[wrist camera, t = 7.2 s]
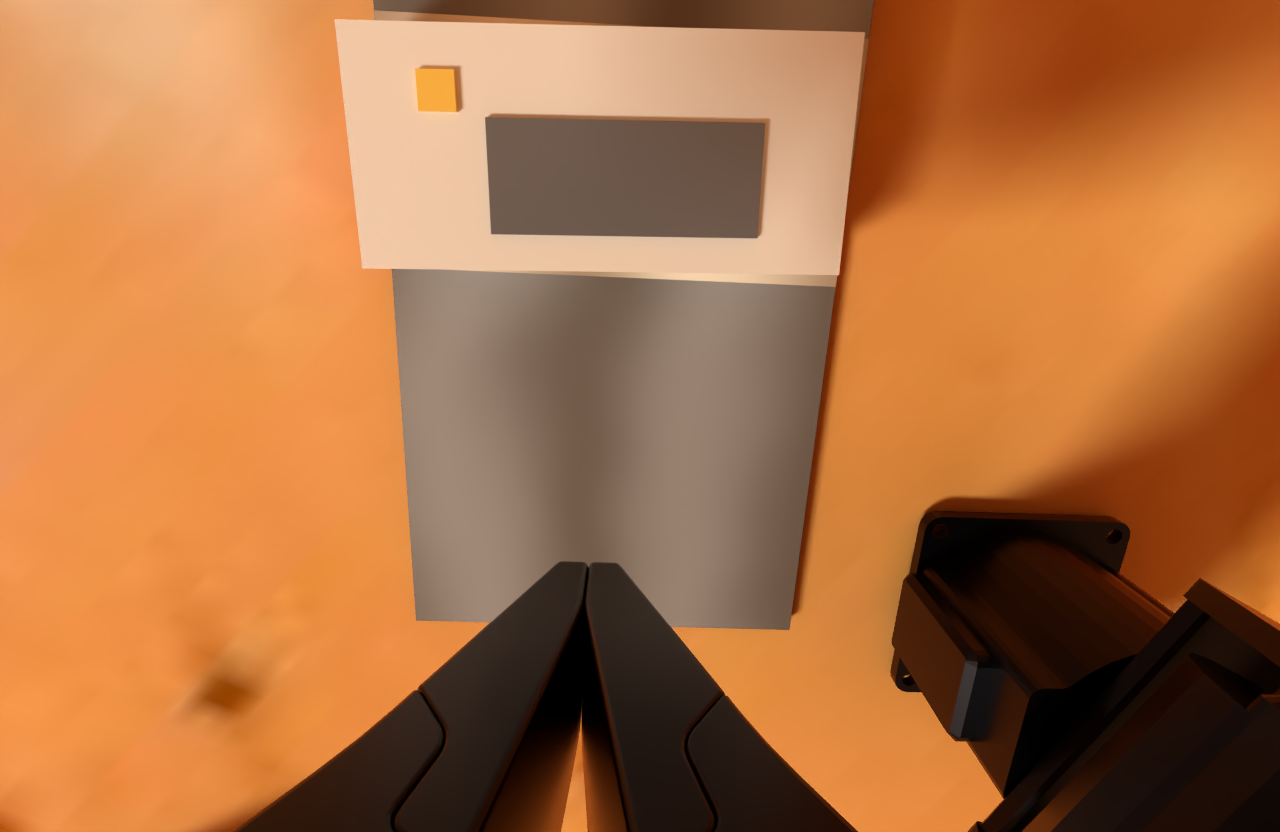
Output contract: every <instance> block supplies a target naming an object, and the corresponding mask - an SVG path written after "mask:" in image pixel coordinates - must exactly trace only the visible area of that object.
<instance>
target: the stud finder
mask: <svg viewBox="0 0 1280 832" xmlns="http://www.w3.org/2000/svg"><path fill="white" fill-rule="evenodd" d="M335 27H336V36H337V45H338V54H339V63H340V72H341V81H342V90H343V99H344V108H345V117H346V126H347V135H348V144H349V153H350V162H351V171H352V180H353V189H354V198H355V207H356V215H357V224H358V233H359V242H360V251H361V260H362V268H370V269H441V270H511V271H581V272H652V273H722V274H792V275H839V271H840V261H841V252H842V243H843V233H844V224H845V215H846V205H847V196H848V187H849V177H850V168H851V158H852V149H853V140H854V130H855V121H856V112H857V102H858V93H859V84H860V74H861V65H862V56H863V46H864V37H865V32H838V31H797V30H756V29H714V28H673V27H632V26H591V25H549V24H508V23H467V22H425V21H384V20H343V19H335Z"/></svg>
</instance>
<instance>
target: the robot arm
mask: <svg viewBox="0 0 1280 832" xmlns="http://www.w3.org/2000/svg"><path fill="white" fill-rule="evenodd" d="M939 524H943V526H942V528H941V530H939V531H938V532H935V533H932V531H933V529H934V527H935V526H937V525H939ZM1112 530H1113V532H1112V533H1111V535H1110V536H1108V537H1106V536H1107V534H1108V533H1109V532H1110V531H1112ZM1129 538H1130V530H1129V528H1128V526H1126V525H1125V524H1124V523H1122V522H1121V521H1119V520H1117V519H1116V518H1113V517H1109V516H1078V515H1047V514H1015V513H984V512H953V511H934V512H930V513H928V514H926V515H925V516H924V517H923V518H922V519H921V521H920V524H919V527H918V533H917V538H916V543H915V548H914V553H913V558H912V563H911V569H910V574H908V575H907V576H906V578H905V579H904V581H903V585H902V590H901V596H900V601H899V606H898V611H897V616H896V622H895V627H894V632H893V637H892V645H893V647H894V648H895V651H894V656H893V661H892V666H891V677H892V679H893V681H894V682H895V684H896V686H897V687H898V688H899V689H900V690H902V691H906V692H922V693H923V695H924V697H925V698H926V700H927V701H928V703H929V705H930V706H931V708H932V709H933V711H934V713H935V714H936V716H937V718H938V719H939V721H940V722H941V724H942V726H943V727H944V729H945V730H946V732H947V733H948V734H949V735H950V736H951V737H952V738H953V739H954V740H955V741H966V742H967V743H968V745H969V746H970V748H971V749H972V751H973V752H974V754H975V755H976V757H977V758H978V760H979V762H980V763H981V765H982V766H983V768H984V769H985V771H986V772H987V774H988V775H989V777H990V779H991V780H992V782H993V783H994V785H995V786H996V788H997V789H998V791H999V792H1000V794H1001V795H1002V797H1003V798H1004V800H1003V801H1002V802H1001V803H1000V804H999V805H998V806H997V807H996V808H995V809H994V810H993V812H992V813H991V814H990V815H989V816H988V817H987V818H986V819H985V820H984V821H983V822H979V821H977V822H976V823H975V824H974V825H973V826H972V827H971V828H970V830H969V831H968V832H1280V624H1279V623H1277V622H1276V621H1274V620H1272V619H1270V618H1269V617H1267V616H1265V615H1263V614H1262V613H1260V612H1258V611H1256V610H1255V609H1253V608H1251V607H1249V606H1248V605H1246V604H1244V603H1242V602H1241V601H1239V600H1237V599H1235V598H1234V597H1232V596H1230V595H1229V594H1227V593H1225V592H1223V591H1222V590H1220V589H1218V588H1216V587H1215V586H1213V585H1211V584H1209V583H1208V582H1206V581H1204V580H1202V579H1201V578H1199V580H1198V581H1197V582H1196V583H1195V584H1194V585H1193V586H1192V587H1191V588H1190V589H1189V591H1188V592H1187V593H1186V594H1185V595H1184V597H1185V598H1187V599H1188V600H1187V601H1186V602H1185V603H1184V604H1183V605H1182V606H1181V607H1180V608H1179V609H1178V610H1177V611H1176V613H1173V612H1172V611H1171V610H1169V609H1168V608H1166V607H1165V606H1164V605H1162V604H1161V603H1160V602H1158V601H1157V600H1155V599H1154V598H1153V597H1151V596H1150V595H1148V594H1147V593H1146V592H1144V591H1143V590H1142V589H1140V588H1139V587H1137V586H1136V585H1135V584H1133V583H1132V582H1131V581H1129V580H1128V579H1126V578H1125V577H1124V576H1122V575H1121V574H1119V571H1120V568H1121V564H1122V561H1123V558H1124V554H1125V551H1126V548H1127V545H1128V541H1129ZM909 673H910V674H911V675H910V676H908V677H905V678H903V677H904V676H905V675H906V674H909ZM581 714H582V752H583V767H584V782H585V797H586V812H587V827H588V832H858V831H857V830H856V829H855V828H854V827H853V826H852V825H851V824H849V823H848V822H847V821H846V820H845V819H844V818H843V817H842V816H841V815H840V814H839V813H838V812H837V811H836V810H835V809H834V808H833V807H832V806H831V805H830V804H829V803H828V802H827V801H826V800H824V799H823V798H822V797H821V796H820V795H819V794H818V793H817V792H816V791H815V790H814V789H813V788H812V787H811V786H810V785H809V784H808V783H807V782H806V781H805V780H804V779H803V778H802V777H801V776H800V775H799V774H798V773H797V772H796V771H795V770H794V769H793V768H792V767H791V766H790V765H789V764H788V763H787V762H786V761H785V760H784V759H783V758H782V757H781V756H780V755H779V754H778V753H777V752H776V751H775V750H774V749H773V748H772V747H771V746H770V745H769V744H768V743H767V742H766V741H765V740H764V738H763V737H762V736H761V735H760V734H759V733H758V732H757V730H756V729H755V728H754V727H753V726H752V725H751V724H750V722H749V721H748V720H747V719H746V718H745V717H744V716H743V714H742V713H741V712H740V711H739V710H738V708H737V707H736V706H735V705H734V703H733V702H732V701H731V700H730V698H729V697H728V696H725V693H724V692H723V690H722V689H721V688H720V687H719V685H718V684H717V683H716V682H715V681H714V679H713V678H712V677H711V676H710V674H709V673H708V672H707V671H706V670H705V668H704V667H703V666H702V665H701V663H700V662H699V661H698V660H697V659H696V657H695V656H694V655H693V654H692V652H691V651H690V650H689V649H688V648H687V646H686V645H685V644H684V643H683V641H682V640H681V639H680V638H679V637H678V635H677V634H676V633H675V632H674V630H673V629H672V628H671V627H670V625H669V624H668V623H667V622H666V621H665V619H664V618H663V617H662V616H661V614H660V613H659V612H658V611H657V610H656V608H655V607H654V606H653V605H652V603H651V602H650V601H649V600H648V599H647V597H646V596H645V595H644V594H643V592H642V591H641V590H640V589H639V588H638V586H637V585H636V584H635V583H634V581H633V580H632V579H631V578H630V577H629V575H628V574H627V573H626V572H625V570H624V569H623V568H622V567H621V566H620V565H619V564H618V563H610V562H593V563H591V564H590V565H589V569H588V565H587V564H586V563H585V562H570V561H561V562H558V563H557V564H556V565H554V566H553V567H552V568H551V569H550V570H549V571H548V572H547V573H545V574H544V575H543V576H542V577H541V578H540V579H539V580H538V581H537V582H535V583H534V584H533V585H532V586H531V587H530V588H529V589H528V590H526V591H525V592H524V593H523V594H522V595H521V596H520V597H519V598H517V599H516V600H515V601H514V602H513V603H512V604H511V605H510V606H508V607H507V608H506V609H505V610H504V611H503V612H502V613H501V614H500V615H498V616H497V617H496V618H495V619H494V620H493V621H492V622H491V623H489V624H488V625H487V626H486V627H485V628H484V629H483V630H482V631H480V632H479V633H478V634H477V635H476V636H475V637H474V638H473V639H472V640H470V641H469V642H468V643H467V644H466V645H465V646H464V647H463V648H461V649H460V650H459V651H458V652H457V653H456V654H455V655H454V656H452V657H451V658H450V659H449V660H448V661H447V662H446V663H445V664H443V665H442V666H441V667H440V668H439V669H438V670H437V671H436V672H435V673H433V674H432V675H431V676H430V677H429V678H428V679H427V680H426V681H424V682H423V683H422V684H421V685H420V686H419V687H418V690H415V691H413V692H412V693H411V694H410V695H408V696H407V697H406V698H405V699H404V700H403V701H402V702H401V703H399V704H398V705H397V706H396V707H395V708H394V709H393V710H391V711H390V712H389V713H388V714H387V715H386V716H384V717H383V718H382V719H381V720H380V721H378V722H377V723H376V724H375V725H374V726H372V727H371V728H370V729H369V730H368V731H367V732H365V733H364V734H363V735H362V736H361V737H359V738H358V739H357V740H356V741H354V742H353V743H352V744H350V745H349V746H348V747H346V748H345V749H344V750H343V751H341V752H340V753H339V754H337V755H336V756H335V757H333V758H332V759H331V760H329V761H328V762H327V763H326V764H324V765H323V766H322V767H320V768H319V769H318V770H316V771H315V772H314V773H312V774H311V775H310V776H308V777H307V778H306V779H304V780H303V781H301V782H300V783H299V784H297V785H296V786H295V787H293V788H292V789H291V790H289V791H288V792H286V793H285V794H284V795H282V796H281V797H280V798H278V799H277V800H275V801H274V802H273V803H271V804H270V805H269V806H267V807H266V808H265V809H263V810H262V811H260V812H259V813H258V814H256V815H255V816H254V817H252V818H251V819H250V820H248V821H247V822H245V823H244V824H243V825H241V826H240V827H239V828H237V829H236V830H234V831H233V832H561V828H562V823H563V818H564V813H565V807H566V802H567V797H568V792H569V787H570V782H571V776H572V771H573V766H574V761H575V756H576V750H577V745H578V739H579V732H580V724H581Z"/></svg>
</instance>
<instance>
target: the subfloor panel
mask: <svg viewBox="0 0 1280 832" xmlns="http://www.w3.org/2000/svg"><path fill="white" fill-rule="evenodd" d="M373 1H374V20H384V21H425V22H467V23H508V24H549V25H591V26H632V27H673V28H714V29H756V30H797V31H838V32H865V37H864V46H863V56H862V65H861V74H860V84H859V93H858V102H857V112H856V121H855V130H854V140H853V149H852V158H851V168H850V177H849V186H850V178H851V171H852V163H853V156H854V148H855V141H856V134H857V126H858V119H859V111H860V104H861V97H862V89H863V82H864V74H865V67H866V60H867V52H868V45H869V35H870V28H871V21H872V13H873V6H874V0H373ZM848 193H849V187H848ZM847 200H848V196H847ZM846 208H847V205H846ZM392 277H393V291H394V306H395V320H396V335H397V349H398V364H399V378H400V393H401V407H402V422H403V436H404V451H405V465H406V480H407V494H408V509H409V523H410V538H411V552H412V567H413V581H414V596H415V610H416V620H420V621H460V622H492V621H493V620H494V619H495V618H496V617H497V616H498V615H500V614H501V613H502V612H503V611H504V610H505V609H506V608H507V607H508V606H510V605H511V604H512V603H513V602H514V601H515V600H516V599H517V598H519V597H520V596H521V595H522V594H523V593H524V592H525V591H526V590H528V589H529V588H530V587H531V586H532V585H533V584H534V583H535V582H537V581H538V580H539V579H540V578H541V577H542V576H543V575H544V574H545V573H547V572H548V571H549V570H550V569H551V568H552V567H553V566H554V565H556V564H557V563H558V562H561V561H570V562H585V563H586V564H587V565H588V569H589V565H590V564H591V563H593V562H610V563H618V564H619V565H620V566H621V567H622V568H623V569H624V570H625V572H626V573H627V574H628V575H629V577H630V578H631V579H632V580H633V581H634V583H635V584H636V585H637V586H638V588H639V589H640V590H641V591H642V592H643V594H644V595H645V596H646V597H647V599H648V600H649V601H650V602H651V603H652V605H653V606H654V607H655V608H656V610H657V611H658V612H659V613H660V614H661V616H662V617H663V618H664V619H665V621H666V622H667V623H668V624H669V625H670V627H698V628H737V629H777V630H789V629H790V621H791V614H792V606H793V599H794V592H795V584H796V577H797V569H798V562H799V554H800V547H801V540H802V532H803V525H804V517H805V510H806V503H807V495H808V488H809V480H810V473H811V465H812V458H813V451H814V443H815V436H816V428H817V421H818V414H819V406H820V399H821V391H822V384H823V376H824V369H825V362H826V354H827V347H828V339H829V332H830V325H831V317H832V310H833V302H834V295H835V287H836V282H837V275H792V274H722V273H652V272H581V271H511V270H441V269H392Z"/></svg>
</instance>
